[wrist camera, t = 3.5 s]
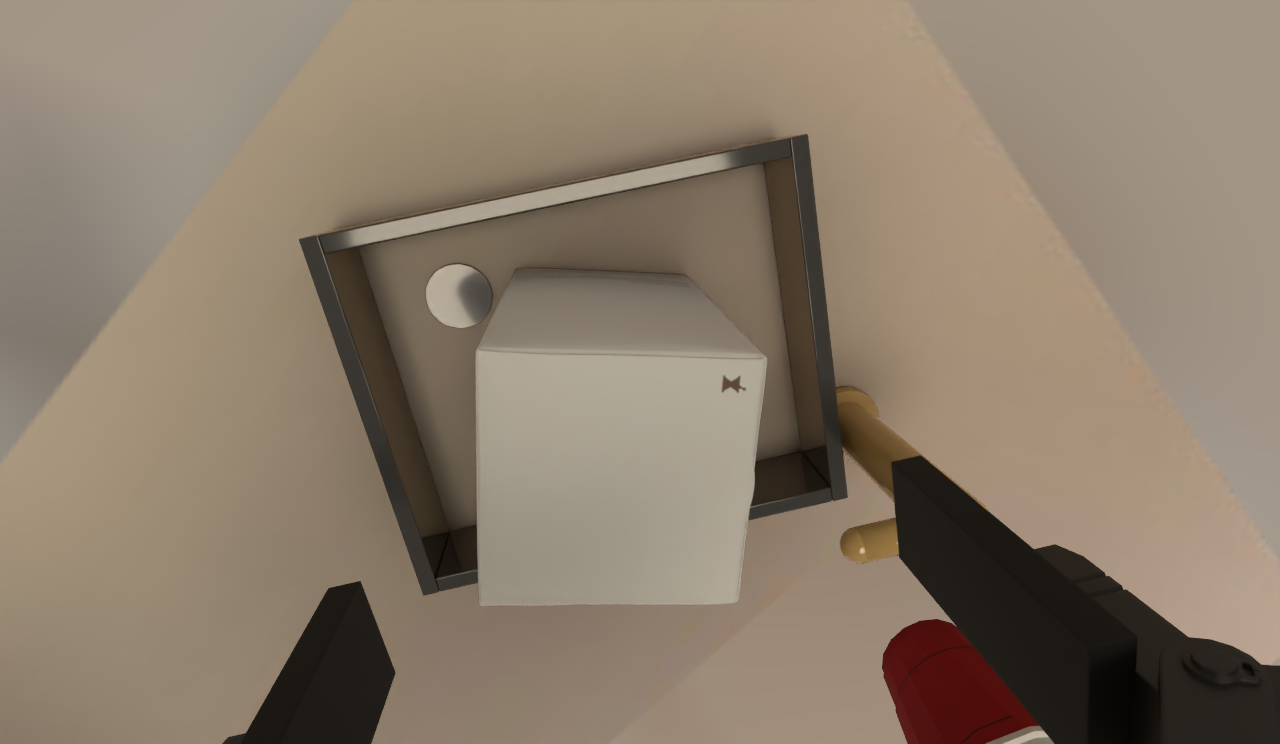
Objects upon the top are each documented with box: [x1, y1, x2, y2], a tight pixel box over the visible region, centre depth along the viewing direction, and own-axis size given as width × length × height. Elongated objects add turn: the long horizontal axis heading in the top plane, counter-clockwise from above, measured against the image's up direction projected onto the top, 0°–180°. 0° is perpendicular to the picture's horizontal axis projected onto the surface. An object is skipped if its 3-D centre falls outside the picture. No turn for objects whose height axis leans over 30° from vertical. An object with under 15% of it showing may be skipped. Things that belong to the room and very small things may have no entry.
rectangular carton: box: [475, 268, 767, 606], centre depth 28 cm, size 9×9×15 cm
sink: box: [299, 134, 988, 595], centre depth 29 cm, size 25×18×12 cm
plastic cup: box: [882, 619, 1054, 744], centre depth 37 cm, size 11×11×12 cm
